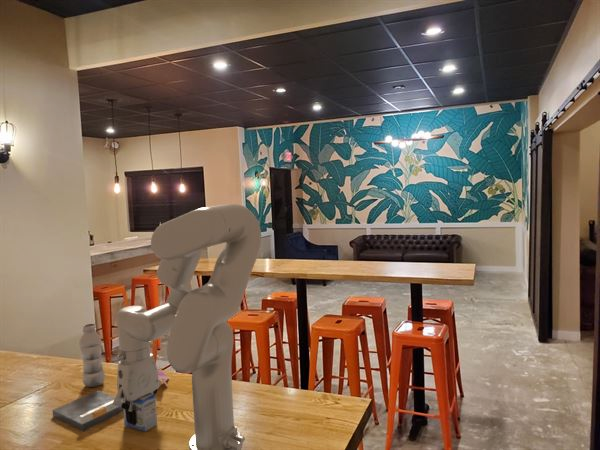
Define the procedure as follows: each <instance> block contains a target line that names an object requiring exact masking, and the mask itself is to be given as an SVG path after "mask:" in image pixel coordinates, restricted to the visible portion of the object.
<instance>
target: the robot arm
mask: <svg viewBox="0 0 600 450" xmlns="http://www.w3.org/2000/svg"><path fill="white" fill-rule="evenodd" d="M221 244H225V245H224V248H223V249H222V251H220V254H219V256H218V257H217V260H215V263H214V264H215V265H214V266H213V270H212V274H211V276H210V278H209V280H208V282H207V283H205V284H204V285H201V286H198V287H197V288H194V289H193V288H192V285H191V282H192V279H193V276H194V275H195V272H196V269H197V267H198V265H199V263H200V259H201V257H202V256H203V252H204V249H206V248H210V247H213V246H216V245H221ZM261 244H262V230H261V226H260V223H259V220H258V219H257V216H255V214H254V213H253V212H252V210H250V209H249V208H248V207H246V206H244V205H241V204H238V203H237V204H235V203H226V204H219V205H211V206H205V207H200V208H197V209H194V210H191V211H189V212H187V213H184V214H182V215H179V216H177V217H175V218H173V219H169V220H168V221H165V222H162V223H161V224H160V225H158V226H157V227H156V228H155V229H154V231H153V232H152V235H151V239H150V247H151V250H152V253H153V254H154V255H155V256H156V258H157V259H160V262H159V265H158V267H157V269H156V278H157V279H158V280H159V282H160V283H162V284H163V285H164V286H166V287H168V288H170V291H169V293H168V296H167V298H166V300H165V302H164V304H160V305H159V306H156V307H154V308H151V309H148V310H147V309H146V307H145V306H142V305H129V306H125V307H122V308H120V309H119V310H118V311H117V313H116V323H117V335H118V347H119V348H118V349H119V350H118V351H119V354H118V355H116V361H118V364H117V373H116V376H117V377H116V386H117V387H116V388H117V393H116V394H115V396H114V397H115V399H114V401H113V405H116V406H119V407H121V408H123V409H125V412H126V421H127V423H129V424H132V425H135V424H136V412H135V410H133V407H134V401H135V400H137V399H139V398H141V397H143V396H145V395H147V394H149V393H152V394H155V395H157V392H158V389H159V388H160V387H161V385H162V383H163V381H162V380H161V379H159V378H158V372H157V367H158V366H157V367H156V365H157V363H156V360H155V357H154V354H153V353H152V352H151V346H150V342H155V341H157V340H158V339H160V338H162V337H164V336H165V335H169V336H168V339H167V343H166V358H167V360H168V363H169V365H170V366H171V368H172V369H173V371H176V372H177V373H180V374H190V373H191V384H192V386H191V389H192V390H191V391H192V407H193V421H194V422H193V423H194V435H192V437H191V438H190V440H189V442H188V443H189V444H188V445H189V447H188V448H189V450H242V449H243V443H244V442H245V440H246V438H245V436H243V435H241V433H240V431H239V430H238V426H236V425H235V421H234V419H235V418H234V401H233V399H234V398H233V383H232V382H233V379H232V377H233V375H232V357H233V349H234V333H233V328H232V327H231V325H230V324H229V322H228V321H229V320H231V319H232V318H234V317H235V316H236V314H237V313H238V311H239V309H240V307H241V304H242V301H243V298H244V296H245V293H246V290H247V287H248V284H249V281H250V278H251V274H252V271H253V268H254V266H255V263H256V261H257V259H258V255H259V252H260V250H261ZM122 398H124V403H123V402H122V401H121V400H122ZM128 403H129V405H128Z"/></svg>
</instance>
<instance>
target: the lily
mask: <svg viewBox="0 0 600 450" xmlns="http://www.w3.org/2000/svg"><path fill="white" fill-rule="evenodd" d="M156 367H157V372H158V379H159V380H160V381H161V382H162V383H163V384H165V386H166V387H167V388H168V383H167V381H166V380H165V379H167V380H170V377H169V376H168V374H166V373H165V372H164V371H163V370H162V369H163V368H160V366H159V367H158V365H157V364H156Z"/></svg>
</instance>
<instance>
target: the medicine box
mask: <svg viewBox="0 0 600 450" xmlns="http://www.w3.org/2000/svg"><path fill="white" fill-rule="evenodd" d="M123 403H124V398H123ZM128 405H129V403H128ZM133 410H135V412H136V424H135V425H132V424H129V423H127V421H126V412H125V409H123V422H124V423H123V424H124V426H125V427H128V428H132V429H135V430H140V431H142V432H147V431H149V430H150V429H152V428H154V427H155V426H157V424H158V416H157V415H158V414H157V413H158V412H157V401H156V394H152V393H149V394H147V395H145V396H143V397H141V398H139V399H137V400H135V401H134V407H133Z"/></svg>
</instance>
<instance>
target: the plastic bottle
mask: <svg viewBox="0 0 600 450" xmlns="http://www.w3.org/2000/svg"><path fill="white" fill-rule="evenodd" d="M96 325H97V324H95V323H87V324H84V325H83V326H82V329H83V330H82V333H83V334H82V336H81V337H80V339H79V348H80V351H81V355H82V362H83V363H82V364H83V365H82V367H83V368H82V369H83V370H82V371H83V372H82V383H83V385H84V386H85V387H87V388H95V387H99V386H101V385H102V384H103V383H105V382H104V381H105V378H106V375H105V371H104V367H103V362H102V338H101V336H100V334H98V332H97V326H96Z"/></svg>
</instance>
